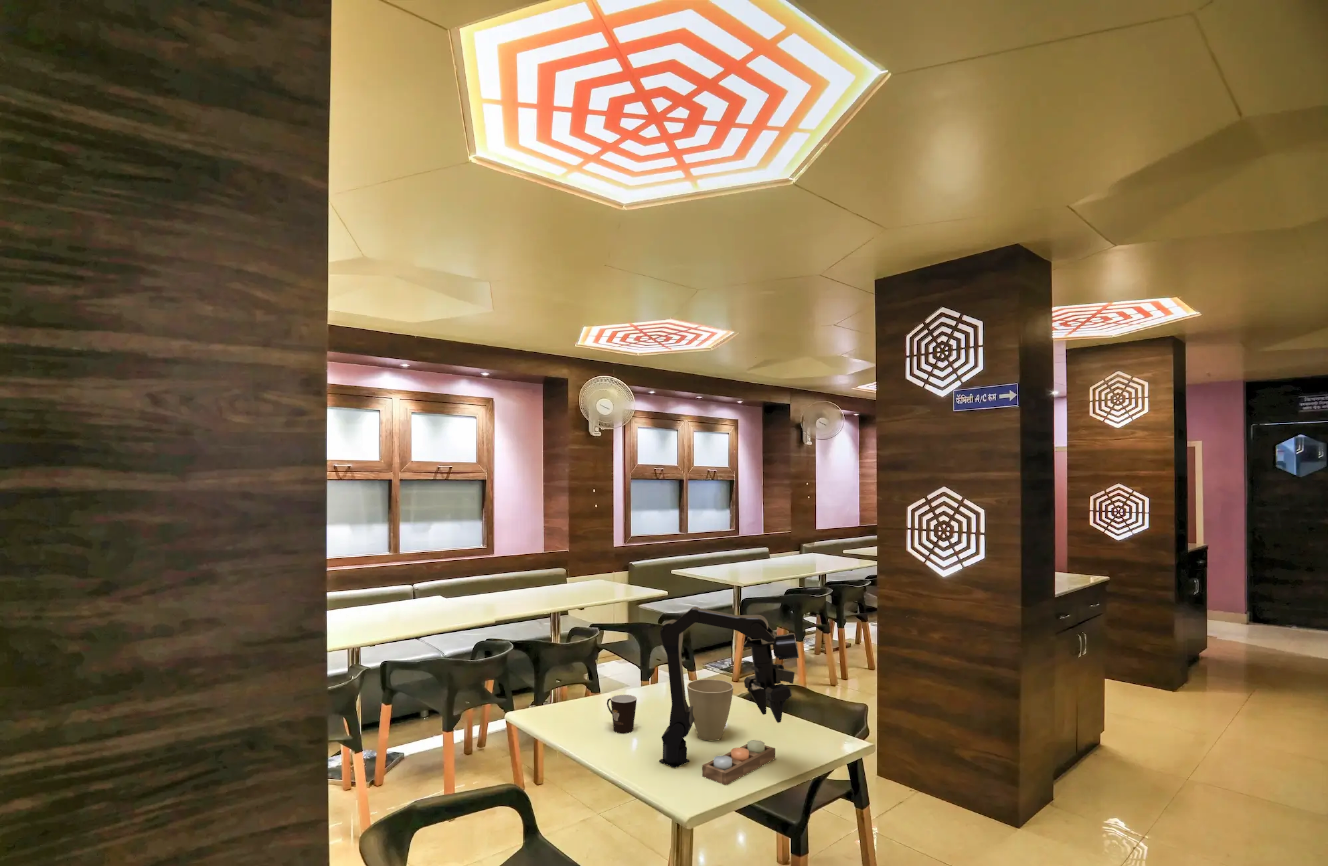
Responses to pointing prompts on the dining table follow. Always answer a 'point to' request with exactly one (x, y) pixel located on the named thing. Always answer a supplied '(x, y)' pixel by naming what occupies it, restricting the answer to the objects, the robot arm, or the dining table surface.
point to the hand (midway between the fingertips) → (771, 718)
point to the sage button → (756, 746)
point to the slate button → (723, 762)
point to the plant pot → (710, 706)
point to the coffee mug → (623, 712)
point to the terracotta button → (740, 754)
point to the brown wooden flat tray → (738, 766)
